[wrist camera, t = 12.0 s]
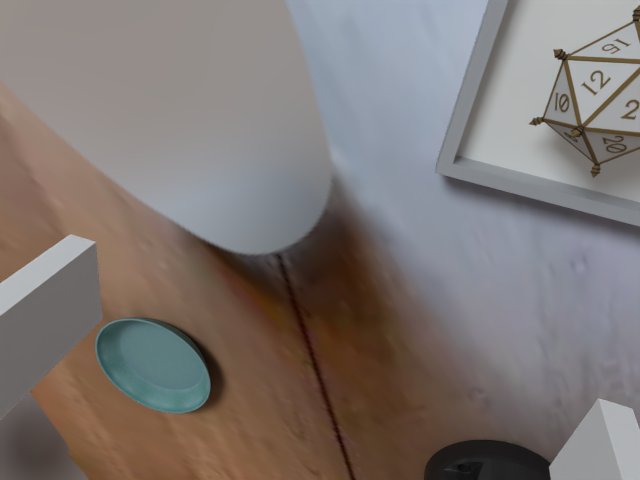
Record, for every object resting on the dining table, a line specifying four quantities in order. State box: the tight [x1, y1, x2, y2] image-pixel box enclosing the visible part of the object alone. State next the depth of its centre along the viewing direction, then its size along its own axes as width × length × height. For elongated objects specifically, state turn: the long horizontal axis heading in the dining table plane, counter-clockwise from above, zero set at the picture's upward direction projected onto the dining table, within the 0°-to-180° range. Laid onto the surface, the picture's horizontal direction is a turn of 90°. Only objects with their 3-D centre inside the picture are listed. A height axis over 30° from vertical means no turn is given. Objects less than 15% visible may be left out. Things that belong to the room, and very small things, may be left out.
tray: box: [435, 0, 640, 227], centre depth 32 cm, size 17×18×3 cm
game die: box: [529, 5, 640, 178], centre depth 29 cm, size 9×8×10 cm
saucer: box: [95, 317, 211, 413], centre depth 58 cm, size 15×15×3 cm
